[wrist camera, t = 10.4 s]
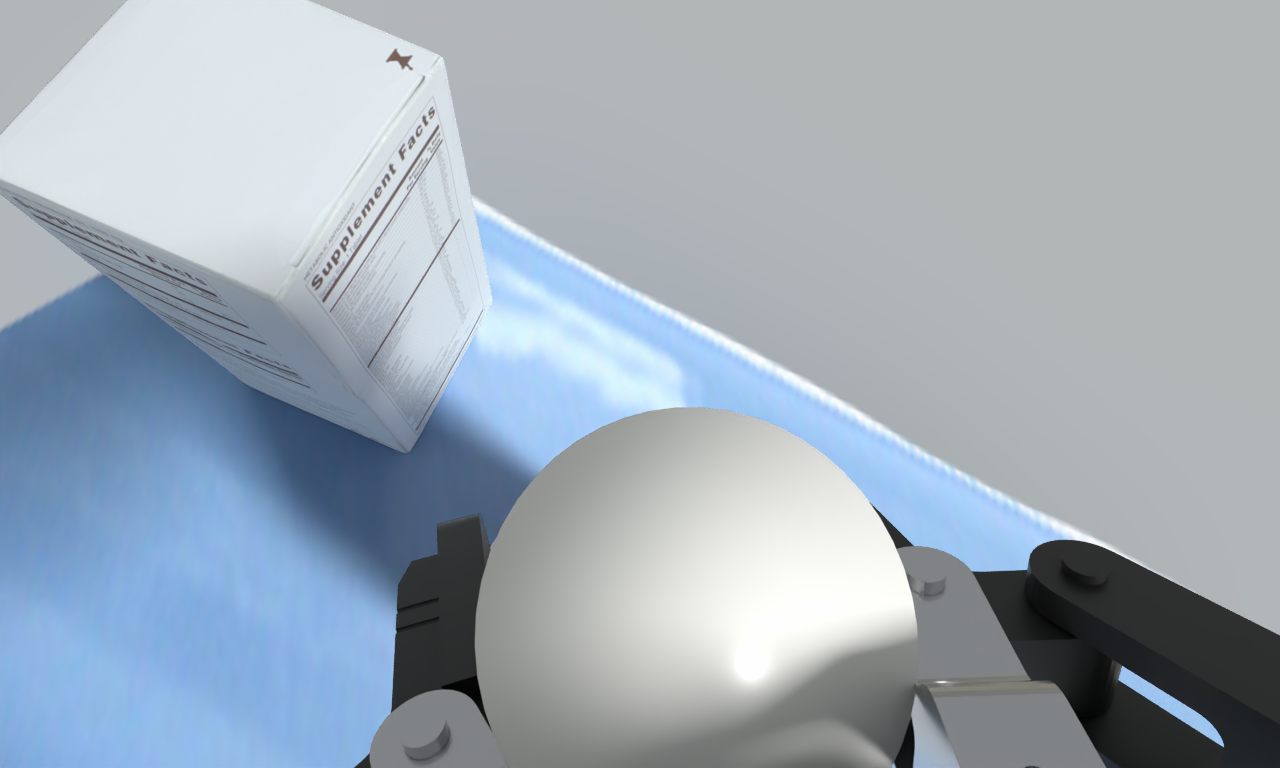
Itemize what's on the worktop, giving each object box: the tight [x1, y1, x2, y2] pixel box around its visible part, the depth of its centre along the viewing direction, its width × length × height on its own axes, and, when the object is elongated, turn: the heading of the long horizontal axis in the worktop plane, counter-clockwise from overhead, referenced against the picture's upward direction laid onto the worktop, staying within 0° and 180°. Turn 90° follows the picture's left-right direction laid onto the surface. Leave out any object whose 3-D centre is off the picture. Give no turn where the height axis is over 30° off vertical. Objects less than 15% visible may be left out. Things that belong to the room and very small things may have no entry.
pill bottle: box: [475, 407, 919, 768], centre depth 12 cm, size 5×5×9 cm
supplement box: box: [0, 0, 493, 453], centre depth 27 cm, size 10×9×17 cm
